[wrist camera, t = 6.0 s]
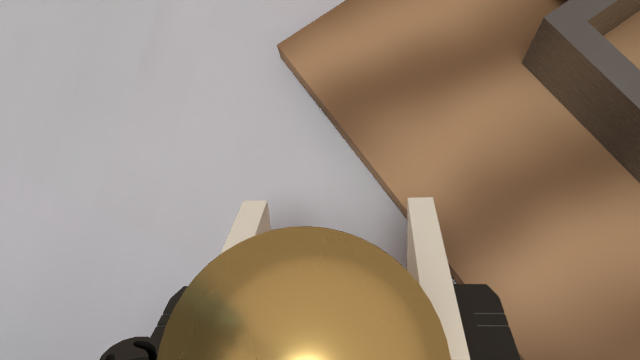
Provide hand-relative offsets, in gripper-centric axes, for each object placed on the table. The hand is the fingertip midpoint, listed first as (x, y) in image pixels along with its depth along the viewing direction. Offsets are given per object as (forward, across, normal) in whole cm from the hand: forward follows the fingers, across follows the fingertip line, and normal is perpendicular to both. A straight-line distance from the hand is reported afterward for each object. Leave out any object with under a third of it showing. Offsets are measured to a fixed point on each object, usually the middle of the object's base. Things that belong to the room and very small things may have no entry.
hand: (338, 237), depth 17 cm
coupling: (0, 0, -5) cm, 5 cm away
